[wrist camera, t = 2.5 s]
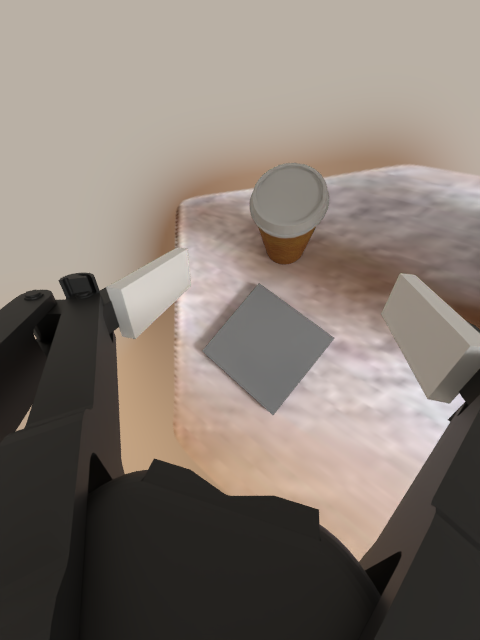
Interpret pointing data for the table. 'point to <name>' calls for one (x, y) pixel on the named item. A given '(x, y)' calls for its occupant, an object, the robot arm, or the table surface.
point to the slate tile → (267, 347)
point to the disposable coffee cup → (288, 209)
